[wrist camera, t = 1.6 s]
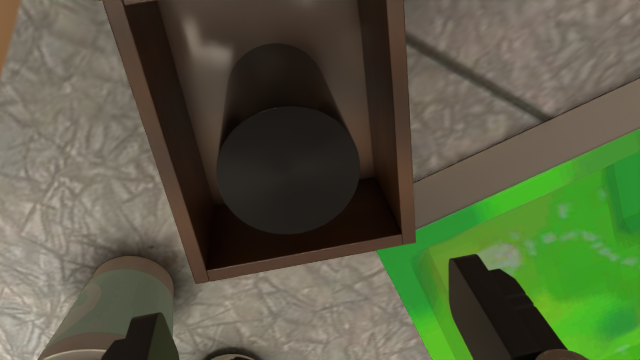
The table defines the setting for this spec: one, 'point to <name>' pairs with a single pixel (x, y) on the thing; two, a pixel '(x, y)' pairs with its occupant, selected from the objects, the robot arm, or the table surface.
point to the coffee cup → (111, 308)
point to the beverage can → (232, 357)
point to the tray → (538, 230)
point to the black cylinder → (284, 144)
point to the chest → (208, 106)
